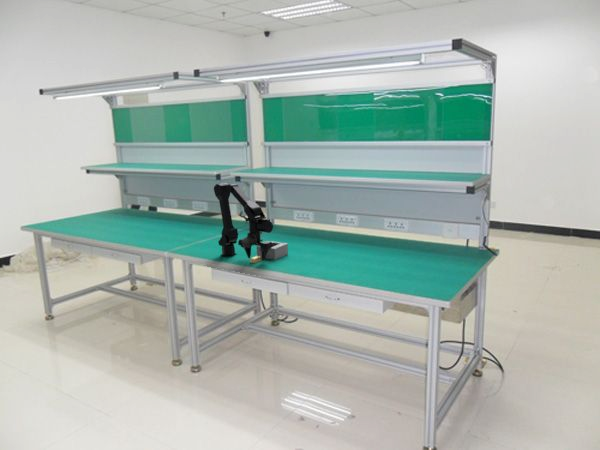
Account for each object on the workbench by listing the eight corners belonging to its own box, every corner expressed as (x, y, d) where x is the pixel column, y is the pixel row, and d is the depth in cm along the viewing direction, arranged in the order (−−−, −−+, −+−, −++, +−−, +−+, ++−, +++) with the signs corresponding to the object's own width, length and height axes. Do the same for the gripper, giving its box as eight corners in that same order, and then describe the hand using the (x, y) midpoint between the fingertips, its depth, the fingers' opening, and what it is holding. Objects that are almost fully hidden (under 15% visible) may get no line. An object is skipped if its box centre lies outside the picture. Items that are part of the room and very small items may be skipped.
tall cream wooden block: (250, 263, 239) (250, 258, 238) (257, 260, 243) (257, 255, 243) (254, 263, 237) (254, 259, 236) (262, 260, 242) (261, 256, 241)
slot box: (257, 256, 248) (256, 245, 247) (270, 251, 258) (270, 240, 257) (275, 259, 242) (274, 248, 241) (288, 254, 252) (287, 243, 250)
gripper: (230, 231, 235) (232, 260, 238) (259, 235, 225) (260, 266, 228) (244, 227, 244) (246, 255, 247) (273, 230, 234) (274, 260, 237)
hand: (256, 259), depth 240 cm, fingers open, 9 cm apart
